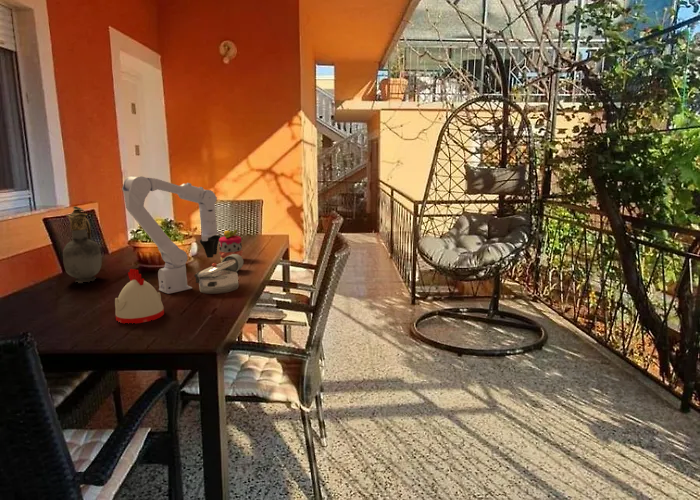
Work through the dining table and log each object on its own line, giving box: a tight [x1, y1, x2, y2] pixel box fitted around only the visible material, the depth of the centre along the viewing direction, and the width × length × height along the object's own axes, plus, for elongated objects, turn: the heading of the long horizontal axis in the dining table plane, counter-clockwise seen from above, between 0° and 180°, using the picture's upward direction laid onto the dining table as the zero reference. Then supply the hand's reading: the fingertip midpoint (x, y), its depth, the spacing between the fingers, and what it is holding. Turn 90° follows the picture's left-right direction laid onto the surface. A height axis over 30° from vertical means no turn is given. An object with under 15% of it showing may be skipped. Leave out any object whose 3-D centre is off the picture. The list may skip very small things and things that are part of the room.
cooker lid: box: [194, 260, 236, 278], centre depth 178 cm, size 15×15×2 cm
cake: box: [218, 228, 244, 263], centre depth 225 cm, size 10×11×15 cm
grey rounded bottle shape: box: [62, 206, 102, 284], centre depth 193 cm, size 11×19×30 cm, turn 10°
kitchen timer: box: [114, 268, 165, 325], centre depth 149 cm, size 14×14×15 cm
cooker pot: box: [195, 270, 239, 295], centre depth 179 cm, size 15×20×5 cm
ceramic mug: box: [221, 254, 244, 273], centre depth 204 cm, size 11×8×8 cm
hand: (211, 255), depth 187 cm, fingers open, 4 cm apart
